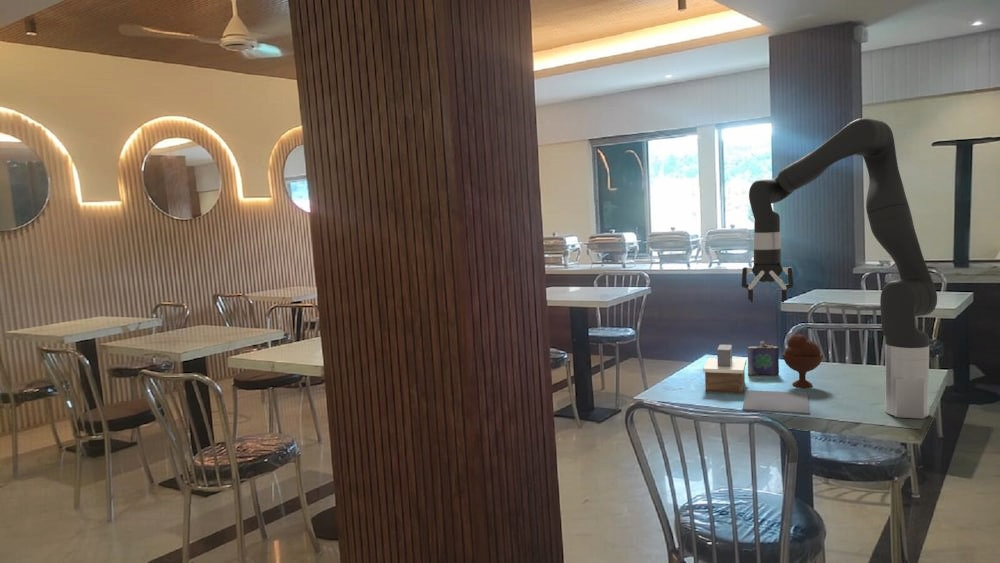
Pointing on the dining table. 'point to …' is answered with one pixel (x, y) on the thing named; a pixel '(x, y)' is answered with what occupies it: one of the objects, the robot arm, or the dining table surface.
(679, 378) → the dining table surface
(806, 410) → the rubber mat
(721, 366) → the lid
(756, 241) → the robot arm
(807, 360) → the ice cream bowl
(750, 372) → the flask
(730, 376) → the storage box
